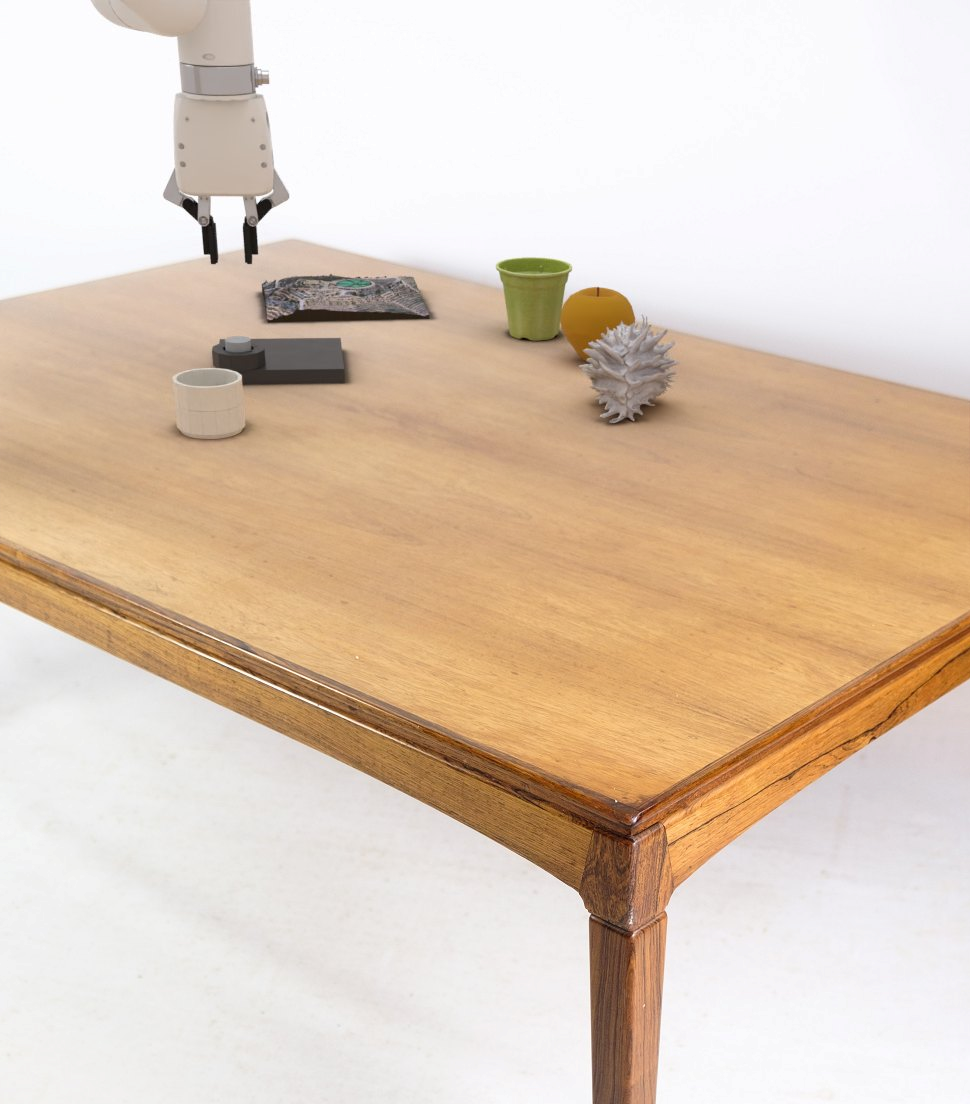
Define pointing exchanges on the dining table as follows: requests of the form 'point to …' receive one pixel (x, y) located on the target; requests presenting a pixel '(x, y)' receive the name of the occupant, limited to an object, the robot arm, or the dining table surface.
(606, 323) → the apple
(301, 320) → the terrain model
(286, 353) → the scale
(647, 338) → the spiky white shell
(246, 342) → the button
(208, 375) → the white cup
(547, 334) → the plant pot
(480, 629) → the dining table surface
